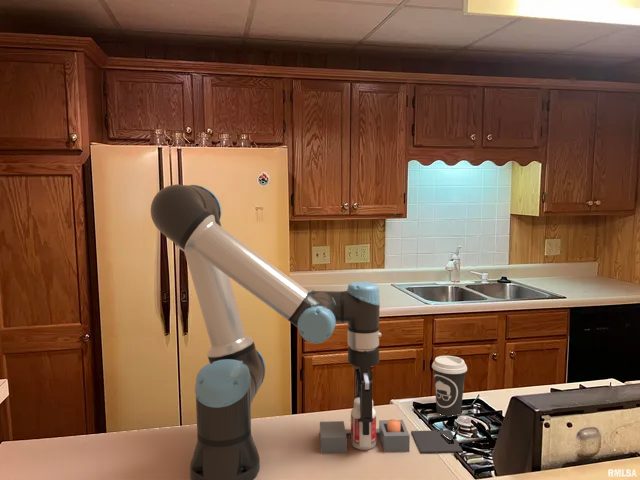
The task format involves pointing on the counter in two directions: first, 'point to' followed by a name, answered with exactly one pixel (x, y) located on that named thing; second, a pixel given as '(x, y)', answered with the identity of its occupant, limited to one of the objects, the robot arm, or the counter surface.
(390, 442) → the housing
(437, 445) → the mat
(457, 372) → the coffee cup
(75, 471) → the counter surface
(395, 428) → the plunger
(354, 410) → the pill bottle
